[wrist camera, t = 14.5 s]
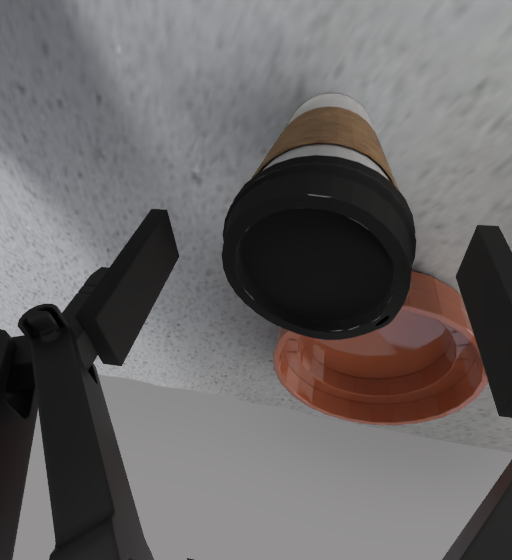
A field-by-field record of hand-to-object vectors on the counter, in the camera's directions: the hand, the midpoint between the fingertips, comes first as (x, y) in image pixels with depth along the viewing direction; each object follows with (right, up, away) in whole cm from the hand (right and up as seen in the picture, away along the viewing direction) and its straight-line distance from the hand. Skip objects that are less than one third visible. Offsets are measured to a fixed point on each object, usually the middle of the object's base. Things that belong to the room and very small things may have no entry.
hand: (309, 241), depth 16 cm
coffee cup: (+3, +8, +9) cm, 13 cm away
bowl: (+10, -7, +22) cm, 25 cm away
